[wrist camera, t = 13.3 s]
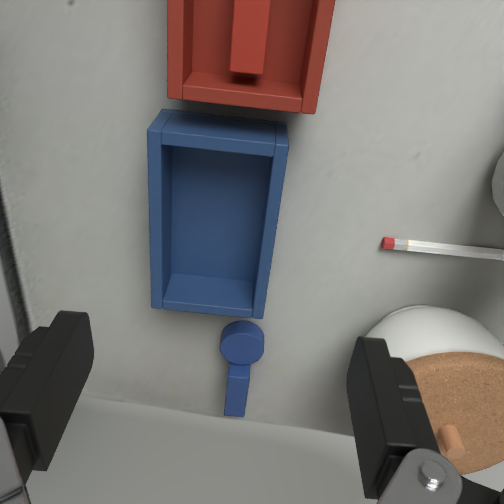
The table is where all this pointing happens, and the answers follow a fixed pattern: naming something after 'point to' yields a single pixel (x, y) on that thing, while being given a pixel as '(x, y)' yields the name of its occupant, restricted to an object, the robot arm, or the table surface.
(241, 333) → the blue spoon
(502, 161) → the can
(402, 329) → the trinket box
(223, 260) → the blue bin
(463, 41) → the table surface
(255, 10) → the red spoon
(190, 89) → the red bin
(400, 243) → the pencil
